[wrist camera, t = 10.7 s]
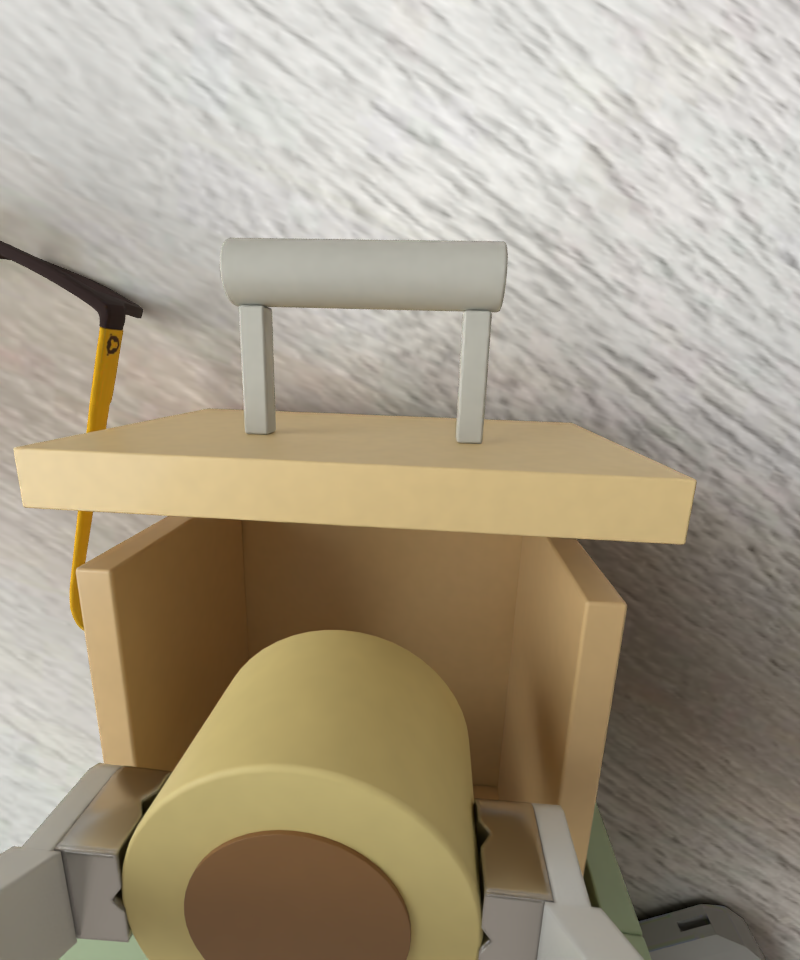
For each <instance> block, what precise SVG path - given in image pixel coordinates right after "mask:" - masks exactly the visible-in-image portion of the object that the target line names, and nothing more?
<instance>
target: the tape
mask: <svg viewBox="0 0 800 960" xmlns="http://www.w3.org/2000/svg"><path fill="white" fill-rule="evenodd" d="M122 900H123V904H124V907H125V909H126V915H127V920H128V923H129V925H130V928H131V930H132V933H133V935H134V937H135V939H136V941H137V942H138V944H139V946H140V948H141V950H142V951H143V953H144V954H145V955H146V957H147V958H148V960H478V955H479V948H480V947H481V944H482V940H483V930H482V928H481V922H482V903H481V891H480V878H479V856H478V847H477V840H476V829H475V816H474V795H473V782H472V770H471V757H470V745H469V736H468V730H467V725H466V722H465V719H464V715H463V712H462V710H461V708H460V706H459V704H458V702H457V700H456V698H455V696H454V695H453V693H452V692H451V690H450V689H449V687H448V686H447V684H446V683H445V682H444V681H443V680H442V679H441V677H440V676H439V675H438V674H437V673H436V672H435V671H434V670H433V669H432V668H431V667H430V666H429V665H427V664H426V663H425V662H424V661H423V660H422V659H420V658H419V657H417V656H416V655H414V654H413V653H411V652H410V651H408V650H406V649H404V648H402V647H401V646H399V645H397V644H395V643H393V642H390V641H387V640H385V639H382V638H380V637H377V636H373V635H369V634H365V633H361V632H354V631H347V630H319V631H310V632H306V633H301V634H297V635H293V636H290V637H288V638H285V639H283V640H280V641H277V642H275V643H274V644H272V645H270V646H268V647H266V648H264V649H263V650H261V651H260V652H259V653H257V654H256V655H255V656H253V657H252V658H251V659H250V660H249V661H248V662H247V663H246V664H245V665H244V666H243V667H242V668H241V669H240V670H239V672H238V673H237V674H236V676H235V677H234V679H233V680H232V682H231V683H230V685H229V686H228V688H227V689H226V691H225V692H224V694H223V695H222V697H221V698H220V700H219V701H218V703H217V705H216V706H215V708H214V709H213V711H212V712H211V714H210V715H209V717H208V718H207V720H206V721H205V723H204V724H203V726H202V728H201V729H200V731H199V732H198V734H197V735H196V737H195V738H194V740H193V741H192V743H191V744H190V746H189V747H188V749H187V751H186V752H185V754H184V755H183V757H182V758H181V760H180V761H179V763H178V764H177V766H176V767H175V769H174V770H173V772H172V774H171V775H170V777H169V778H168V780H167V781H166V783H165V784H164V786H163V787H162V789H161V790H160V792H159V793H158V795H157V797H156V798H155V800H154V801H153V803H152V804H151V806H150V807H149V809H148V810H147V812H146V813H145V815H144V816H143V818H142V820H141V821H140V823H139V824H138V826H137V827H136V830H135V832H134V834H133V836H132V838H131V840H130V842H129V845H128V848H127V851H126V855H125V858H124V863H123V870H122Z"/></svg>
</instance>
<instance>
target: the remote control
mask: <svg viewBox="0 0 800 960" xmlns="http://www.w3.org/2000/svg"><path fill="white" fill-rule="evenodd" d="M638 922H639V924H640V927H641V930H642V937H643V938H644V940H645V942H646V945H647V948H648V951H649V954H650V957H651V959H652V960H766V959H765V957H764V956H763V954H762V952H761V950H760V948H759V946H758V945H757V943H756V941H755V939H754V937H753V935H752V934H751V932H750V930H749V928H748V926H747V924H746V923H745V921H744V919H743V918H741V917H740V916H739V915H737V914H736V913H734V912H733V911H731V910H730V909H728V908H727V907H725V906H719V905H708V904H700V905H696V906H692V907H689V908H685V909H682V910H678V911H674V912H671V913H667V914H664V915H660V916H656V917H653V918H649V919H646V920H642V921H638Z"/></svg>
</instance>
